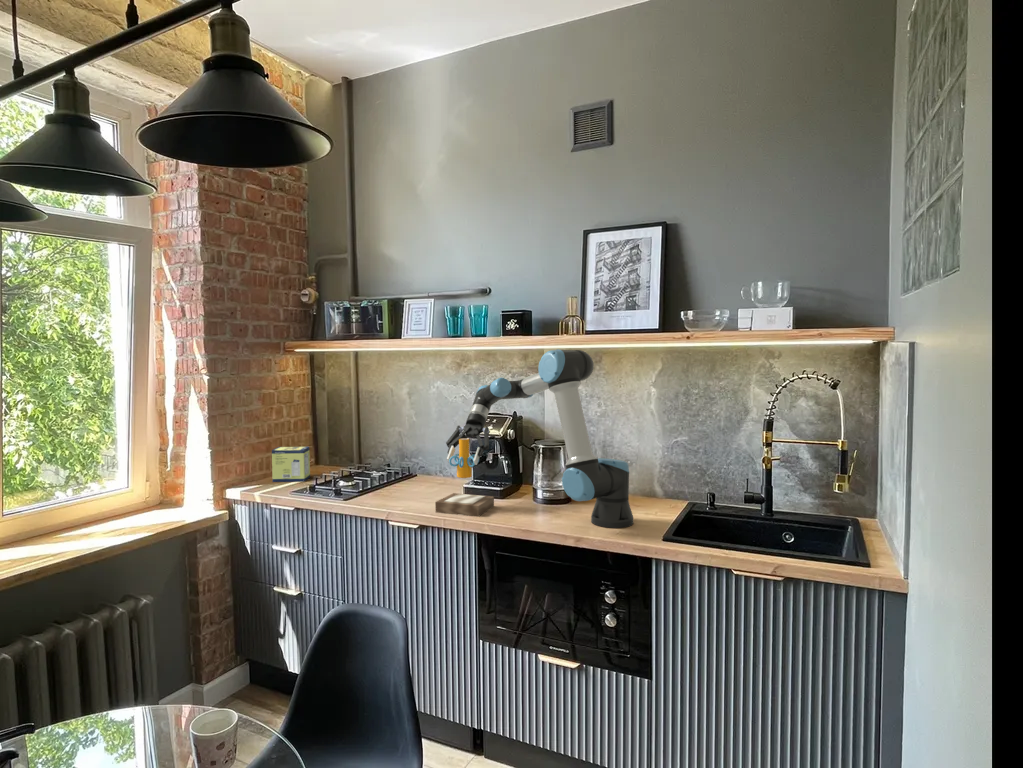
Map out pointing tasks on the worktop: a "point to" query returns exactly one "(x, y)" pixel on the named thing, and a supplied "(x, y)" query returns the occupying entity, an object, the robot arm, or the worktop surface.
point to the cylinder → (463, 460)
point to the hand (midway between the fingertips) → (461, 462)
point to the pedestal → (465, 504)
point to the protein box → (290, 464)
